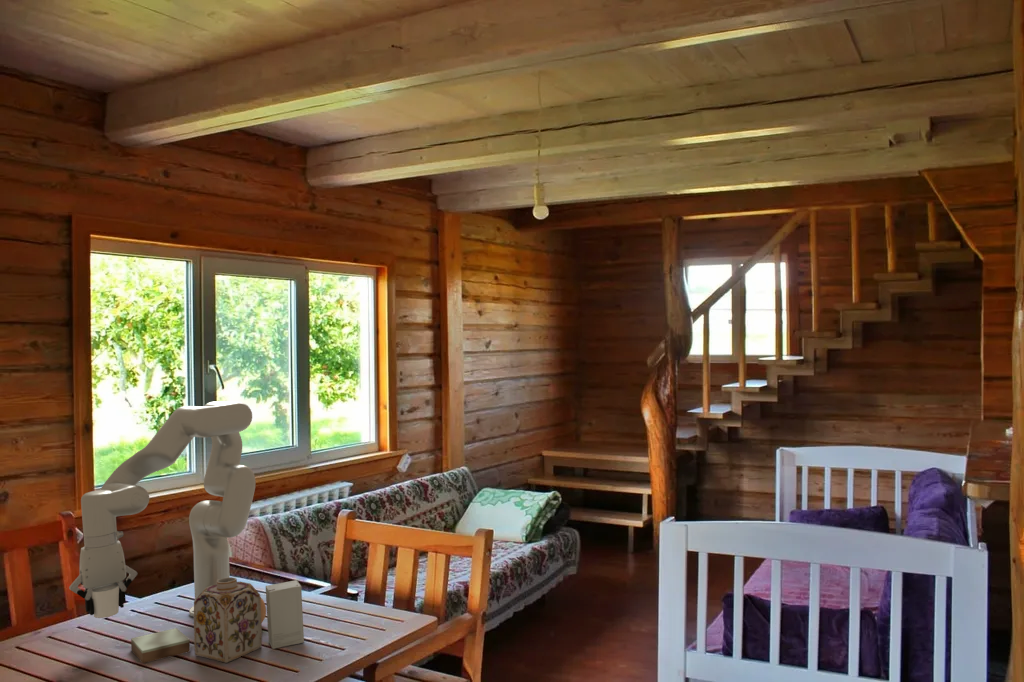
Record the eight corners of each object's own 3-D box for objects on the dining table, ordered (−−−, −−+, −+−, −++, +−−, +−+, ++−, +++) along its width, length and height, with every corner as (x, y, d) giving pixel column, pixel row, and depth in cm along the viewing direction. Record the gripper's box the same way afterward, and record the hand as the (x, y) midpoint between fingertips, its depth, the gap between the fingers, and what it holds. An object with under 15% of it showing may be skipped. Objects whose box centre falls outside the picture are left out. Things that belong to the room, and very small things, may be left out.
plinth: (177, 639, 212) (176, 627, 212) (189, 651, 203) (189, 639, 203) (131, 650, 205) (131, 638, 205) (142, 663, 197) (142, 650, 197)
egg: (262, 621, 225) (261, 588, 225) (269, 628, 219) (268, 594, 219) (237, 626, 221) (236, 593, 221) (244, 633, 215) (243, 599, 215)
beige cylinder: (109, 619, 203) (107, 591, 203) (84, 618, 205) (82, 591, 204) (127, 609, 210) (125, 582, 210) (103, 608, 211) (101, 581, 211)
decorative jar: (226, 664, 195) (224, 589, 195) (193, 656, 200) (191, 583, 200) (264, 647, 205) (262, 575, 205) (231, 640, 211) (229, 570, 211)
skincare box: (299, 636, 212) (298, 579, 212) (304, 643, 207) (303, 585, 207) (266, 642, 209) (265, 584, 209) (270, 650, 203) (269, 590, 203)
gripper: (133, 530, 215) (138, 597, 216) (59, 544, 204) (65, 615, 205) (141, 535, 209) (146, 604, 210) (65, 551, 198) (70, 623, 199)
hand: (106, 609), depth 207 cm, fingers closed on beige cylinder, 6 cm apart
